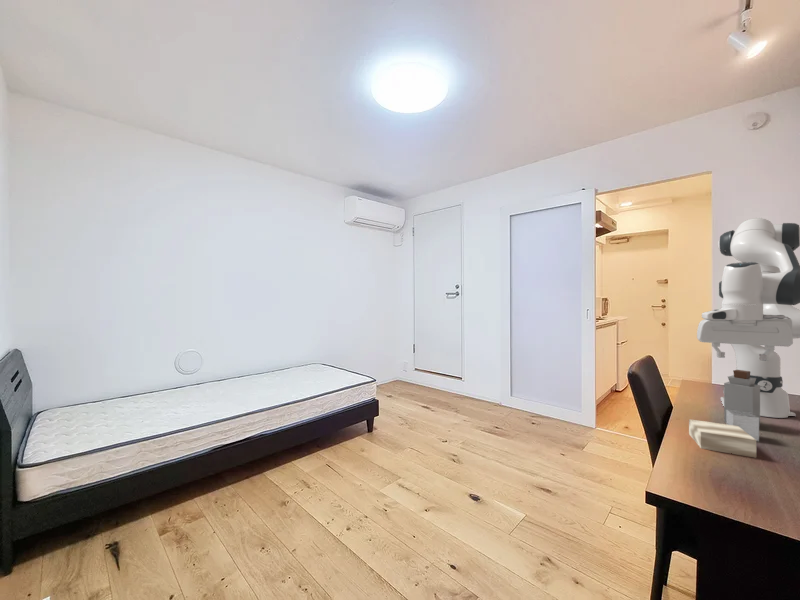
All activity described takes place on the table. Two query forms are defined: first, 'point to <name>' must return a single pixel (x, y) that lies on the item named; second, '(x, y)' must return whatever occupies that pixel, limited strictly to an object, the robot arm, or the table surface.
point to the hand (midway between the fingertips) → (741, 358)
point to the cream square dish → (722, 438)
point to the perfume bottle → (742, 394)
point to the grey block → (744, 422)
